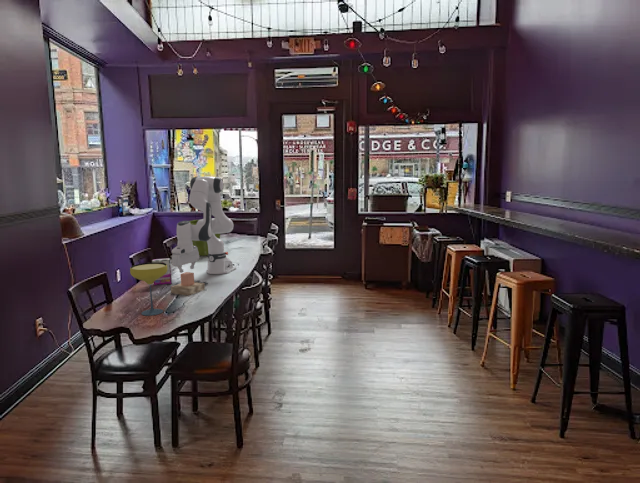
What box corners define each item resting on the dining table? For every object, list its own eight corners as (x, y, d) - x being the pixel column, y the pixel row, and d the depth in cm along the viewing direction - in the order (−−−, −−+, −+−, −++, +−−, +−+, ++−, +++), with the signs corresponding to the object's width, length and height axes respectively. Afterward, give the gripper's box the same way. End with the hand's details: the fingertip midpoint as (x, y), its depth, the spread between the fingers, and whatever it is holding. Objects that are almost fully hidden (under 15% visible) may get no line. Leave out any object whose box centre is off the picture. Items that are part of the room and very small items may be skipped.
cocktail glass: (174, 306, 245) (171, 261, 241) (164, 317, 227) (160, 269, 223) (141, 307, 245) (137, 262, 241) (128, 318, 227) (124, 270, 223)
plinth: (187, 287, 284) (186, 280, 284) (204, 289, 278) (204, 282, 278) (171, 293, 272) (170, 286, 271) (189, 295, 266) (189, 288, 265)
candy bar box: (172, 282, 298) (170, 257, 295) (171, 284, 293) (170, 259, 290) (154, 283, 295) (152, 259, 292) (153, 285, 290) (151, 260, 287)
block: (187, 283, 278) (186, 272, 277) (194, 283, 276) (193, 272, 275) (181, 285, 273) (180, 274, 272) (188, 286, 271) (187, 274, 270)
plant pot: (188, 252, 402) (186, 220, 397) (222, 249, 411) (220, 218, 406) (189, 258, 374) (186, 224, 369) (225, 256, 383) (223, 222, 378)
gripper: (192, 244, 281) (194, 266, 284) (169, 251, 263) (171, 274, 266) (200, 245, 279) (202, 267, 281) (177, 251, 261) (179, 275, 263)
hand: (187, 270), depth 273 cm, fingers open, 8 cm apart
